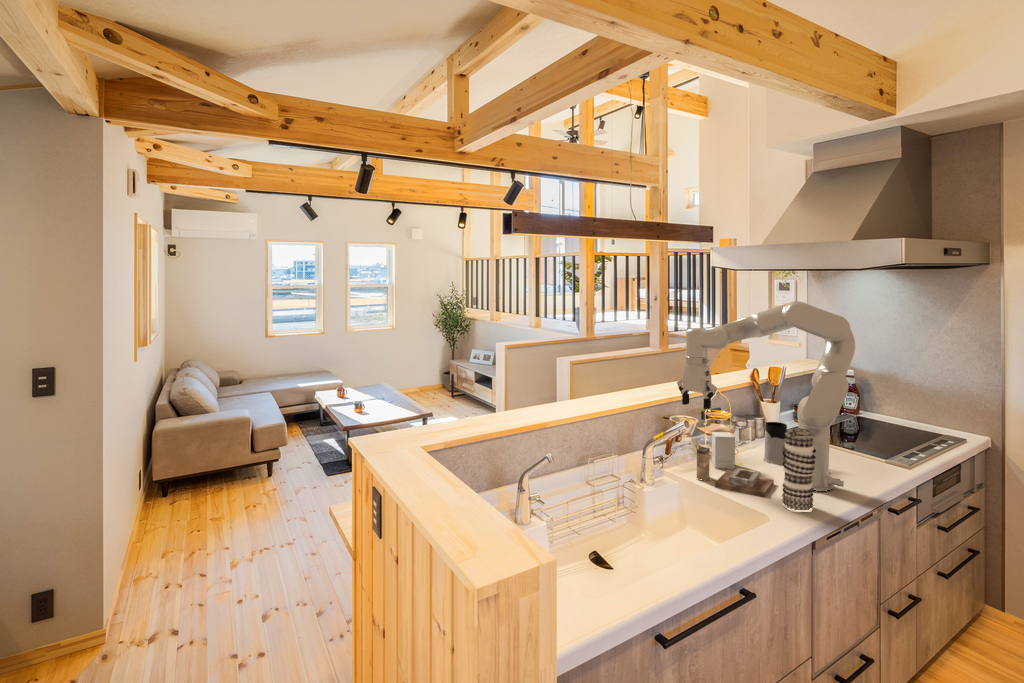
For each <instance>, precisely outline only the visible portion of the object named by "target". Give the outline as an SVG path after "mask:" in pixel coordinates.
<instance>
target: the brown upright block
mask: <svg viewBox="0 0 1024 683" xmlns="http://www.w3.org/2000/svg"><path fill="white" fill-rule="evenodd" d="M710 449H711V448H710V447H706V446H700V447H699V448H697V450H696V479H697V478H698V479H702V480H706V479H707V478H708V477H709V478H710V453H711V452H710ZM709 478H708V479H709ZM708 479H707V480H708ZM702 480H701V481H702ZM707 480H706V481H707Z"/></svg>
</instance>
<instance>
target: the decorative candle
mask: <svg viewBox="0 0 1024 683" xmlns="http://www.w3.org/2000/svg"><path fill="white" fill-rule="evenodd" d="M785 434H786V441H785V445H784V446H782V450H783V452H782V454H783V456H784V457H783V461H784V462H783V464H782V466H783V468H782V471H783V472H784V477H783V483H782V495H781V496H782V497H781V498H782V499H781V501H782V505H783V506H784V507H786V508H790V509H794V510H809V509H810V508H813V507H814V498H813V496H814V491H813V490H814V489H813V487H812V485H813V483H812V475H813V474H814V471H813V470H814V469H815V468H814V467H813V466H812V464H815V461H814V460H812V459H815V458H816V457H815V456H814V455H812V452H813V453H815V452H816V450H815V449H814V446H813V437H815V436H814V435H813V434H812V433H811V432H810V431H809V430H807V429H803V428H798V427H792V428H788V429H787V432H785ZM785 448H786V449H785ZM785 452H786V454H784V453H785ZM785 459H786V460H785ZM783 506H782V507H783ZM784 507H783V508H784Z"/></svg>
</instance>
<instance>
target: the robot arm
mask: <svg viewBox="0 0 1024 683" xmlns="http://www.w3.org/2000/svg"><path fill="white" fill-rule="evenodd" d="M793 328H795V329H798V330H800V331H802V332H805V333H807V334H811V335H812V336H813V335H814V336H816V337H819V338H822V339H823V340H824V348H823V349H824V350H823V352H822V355H821V358H820V360H819V362H818V364H817V367H816V368H815V370H814V373H813V374H812V377H811V385H812V389H811V391H810V393H809V395H807V396H804V397H803V398H801V400H800V401H799V403H798V404H797V428H803V429H807V430H809V431H810V432H811V433H812V434H813V435H814V436H815V437H813V446H814V449H815V450H816V452H815V453H813V452H812V455H814V456H815V457H816V458H815V459H812V460H814V461H815V464H812V466H813V467H814V468H815V469H814V470H813V471H814V474H813V475H812V483H813V485H812V487H813V489H814V490H816V491H815V492H817V491H826V490H831V489H832V490H833V489H834V486H837V487H841V488H843V487H844V484H845V483H844V482H845V481H844V480H841V478H836V477H832V476H831V473H830V470H829V467H830V466H829V465H830V443H831V442H830V440H831V426H833V424H834V423H835V421H836V419H837V417H838V415H839V413H840V411H841V408H842V406H843V404H844V402H845V400H846V398H847V395H848V392H849V381H848V379H847V377H846V376H847V374H848V371H849V369H850V366H851V363H852V361H853V358H854V355H855V351H856V340H855V336H854V334H853V332H852V330H851V324H850V322H849V321H848V319H847V318H845V317H843V316H842V315H839V314H836V313H832V312H830V311H827V310H823V309H821V308H818V307H815V306H813V305H811V304H809V303H806V302H803V301H797V300H796V301H790V302H788V303H784V304H781V305H778V306H775V307H772V308H769V309H766V310H763V311H760V312H757V313H753V314H751V315H749V316H746V317H744V318H739V319H737V320H734V321H731V322H728V323H724V324H721V325H719V326H716V327H714V328H712V329H706V328H702V327H691V328H688V329H687V330H686V331H685V332H686V333H685V364H684V366H683V373H682V379H680V380H677V381H676V384H677V387H678V390H679V391H680V395H681V398H682V400H681V401H682V402H681V404H682V406H683V405H684V406H686V405H690V393H689V392H692V393H693V392H695V393H700V394H702V395H703V397H704V398H703V410H710V409H711V408H712V398H713V397H714V396H715V395H716V393H717V390H718V387H717V386H716V385H714V384H713V383H712V373H711V368H710V365H708V364H709V363H710V359H708V349H714V350H720V349H721V350H722V349H724V348H726V347H727V346H728V345H730V344H732V343H736V342H738V341H739V342H740V341H743V340H747V339H751V338H752V339H753V338H762V337H767V336H769V335H770V336H771V335H774V334H776V333H780V332H782V331H783V332H784V331H785V330H789V329H793ZM832 490H831V491H832ZM826 492H827V491H826Z"/></svg>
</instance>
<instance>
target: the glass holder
mask: <svg viewBox="0 0 1024 683" xmlns="http://www.w3.org/2000/svg"><path fill="white" fill-rule="evenodd" d="M787 431H788V425H787V424H786V423H784V422H778V421H770V422H769V421H768V422H765V429H764V457H763V458H762V459H763V461H764V462H765V461H766V462H765V463H768V464H771V463H772V464H773V465H783V462H784V461H783V457H784V456H783V454H782V452H783V450H782V446H784V445H785V441H786V434H785V432H787ZM785 449H786V448H785ZM784 454H786V452H785V453H784ZM785 460H786V459H785Z"/></svg>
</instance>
